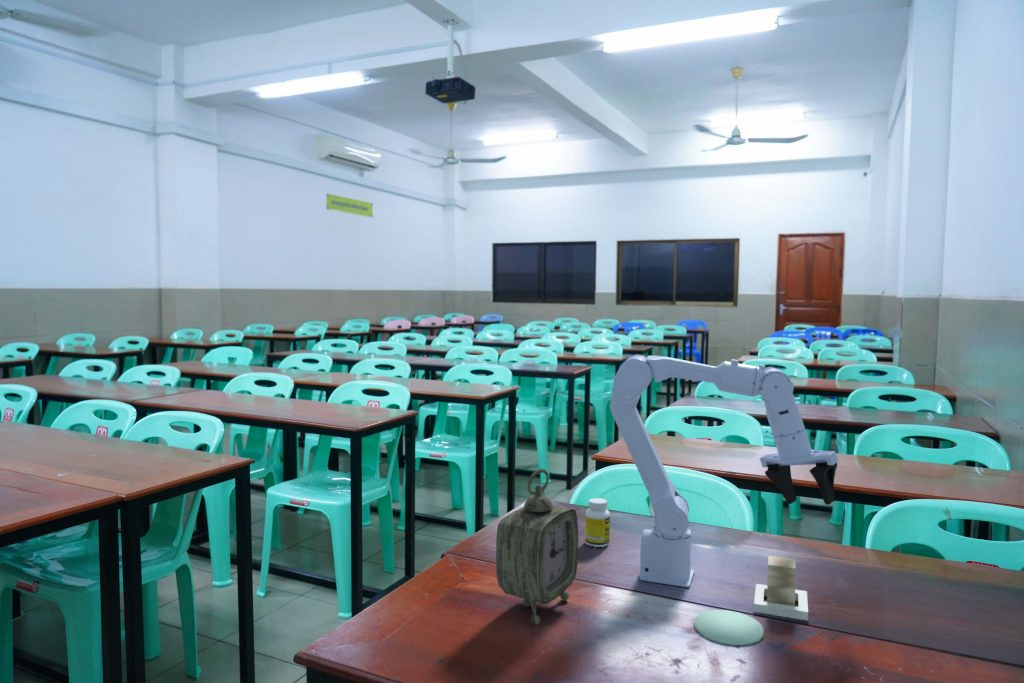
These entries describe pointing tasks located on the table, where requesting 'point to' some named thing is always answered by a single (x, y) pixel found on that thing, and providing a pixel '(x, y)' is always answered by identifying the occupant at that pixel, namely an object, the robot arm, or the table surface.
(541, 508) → the tabletop clock
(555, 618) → the table surface
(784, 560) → the maple block
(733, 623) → the coaster
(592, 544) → the supplement bottle
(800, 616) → the frame
